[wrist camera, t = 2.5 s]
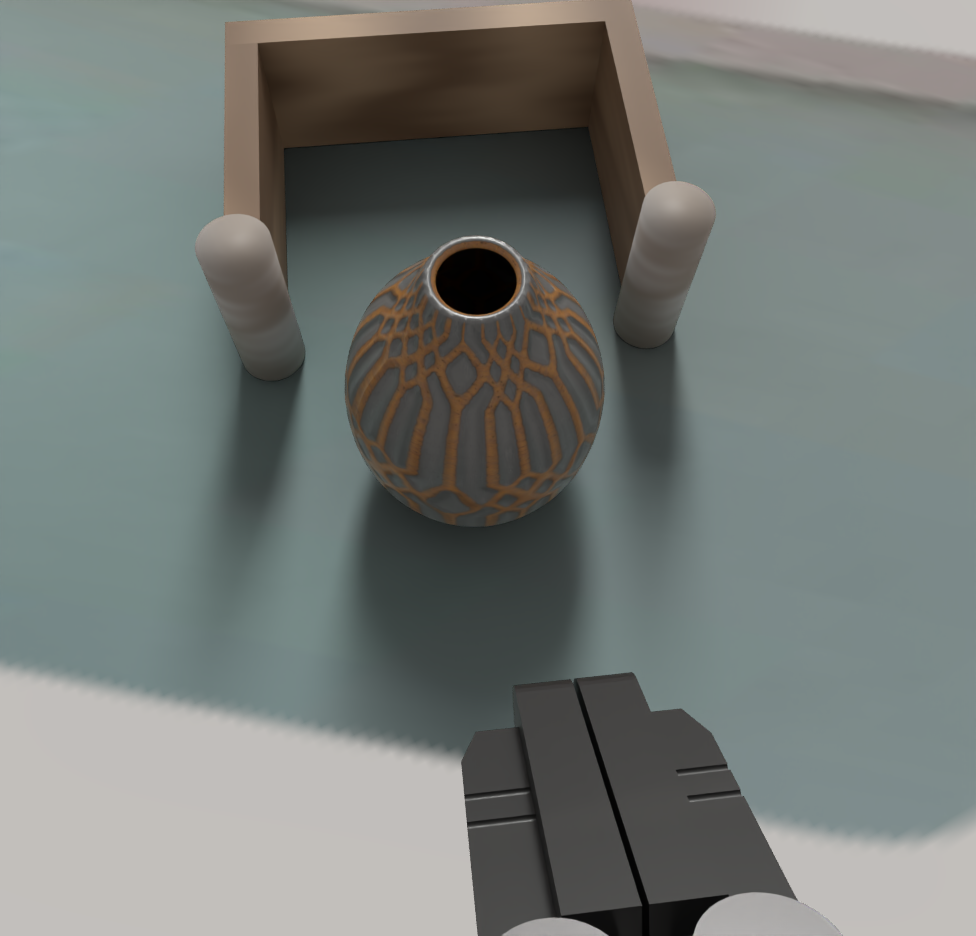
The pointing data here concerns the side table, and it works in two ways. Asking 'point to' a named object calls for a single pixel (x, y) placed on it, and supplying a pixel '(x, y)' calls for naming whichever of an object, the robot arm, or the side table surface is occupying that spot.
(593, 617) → the side table surface
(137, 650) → the side table surface
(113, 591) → the side table surface
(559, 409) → the vase
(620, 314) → the housing
